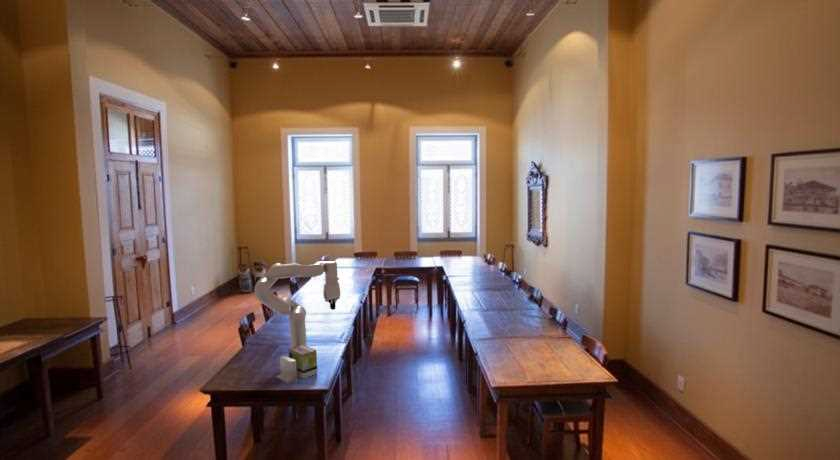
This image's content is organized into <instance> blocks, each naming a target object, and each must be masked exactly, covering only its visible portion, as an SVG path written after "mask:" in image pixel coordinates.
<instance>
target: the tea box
mask: <svg viewBox="0 0 840 460" xmlns="http://www.w3.org/2000/svg"><path fill="white" fill-rule="evenodd" d="M317 356H318V355H317V349H315V348H312V347H310V346H305V345H300V346H296V347H293V348H291V347H289V348H288V357H290V358H292V359H294V360H296V367H297V377H299V378H300V377H301V379H302V378H303V379H302V380H305V379H308V378H310V377H309V376H311V377H313V376H316V375H317V374H318V361H317V360H318V359H317V358H318V357H317ZM315 374H316V375H315ZM312 375H313V376H312ZM307 377H308V378H307ZM304 378H305V379H304Z"/></svg>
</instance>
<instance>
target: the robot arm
mask: <svg viewBox="0 0 840 460" xmlns="http://www.w3.org/2000/svg"><path fill="white" fill-rule="evenodd" d="M323 274H324V276H325V277H324V278H325V282H324V284H323V299H324V302H327V303H329V309H330V310H336V303H337V301H338V300H339V299H341V287H340V283H339V282H338V281H339V280H340V278H339V277H338V263H337V261H336V260H335V261H334V260H331V261H322V260H321V261H320V260H318V261H315V262H314V263H313V264H299V263H297V262H295V263H286V264H285V263H283V264H282V263H280V262H276V263H274V264H272V265H271V266H270V268H269V269H268V270H267V271H266V272H265V273H264V274H263V275H262V276H261V277H260V278H259V279H258V281H257V282H256V283H255V285H254V290H253V291H254V296H255V298H256V299H257V301H258V302H260V303H261V304H263V305H264V306H266V307H267V308H268V309H270V310H272V311H273V312H275V313H276V314H277V315H279V316H286V315H288V324H289V332H290V333H289V334H290V348H293V347H296V346H300V345H305V346H307V345H308V344H307V332H306V331H307V330H306V329H307V328H306V327H307V326H306V317H307V311H306V309H305V308H304V307H303V306H302V305H300V304H299V303H298V302H296V301H295V300H293V299H291V298H289V297H286V296H285V297H279V296H278V295H276V294H275V293H272V292H270V289H271V288H272V286H273V285H274V284H275V283H276V282H277V281H278V280H279V279H288V278H310V277H320V276H321V275H323ZM307 347H308V346H307Z"/></svg>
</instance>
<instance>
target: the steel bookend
mask: <svg viewBox="0 0 840 460" xmlns="http://www.w3.org/2000/svg"><path fill="white" fill-rule="evenodd" d="M279 365H280V374H279V375H276V377H275V378H278V379H280V380H281V381H280V380H279V381H280V382H282V381H283V382H282V383H284V382H285V384H286V383H287V384H286V385H290V384H292V382H293V383H295V382H297V381H298V376H297V367H296V360H294V359H292V358H290V357H289V356H288V355H285V354H284V355H281V356H279ZM278 379H277V380H278ZM296 380H297V381H296ZM294 381H295V382H294Z"/></svg>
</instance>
